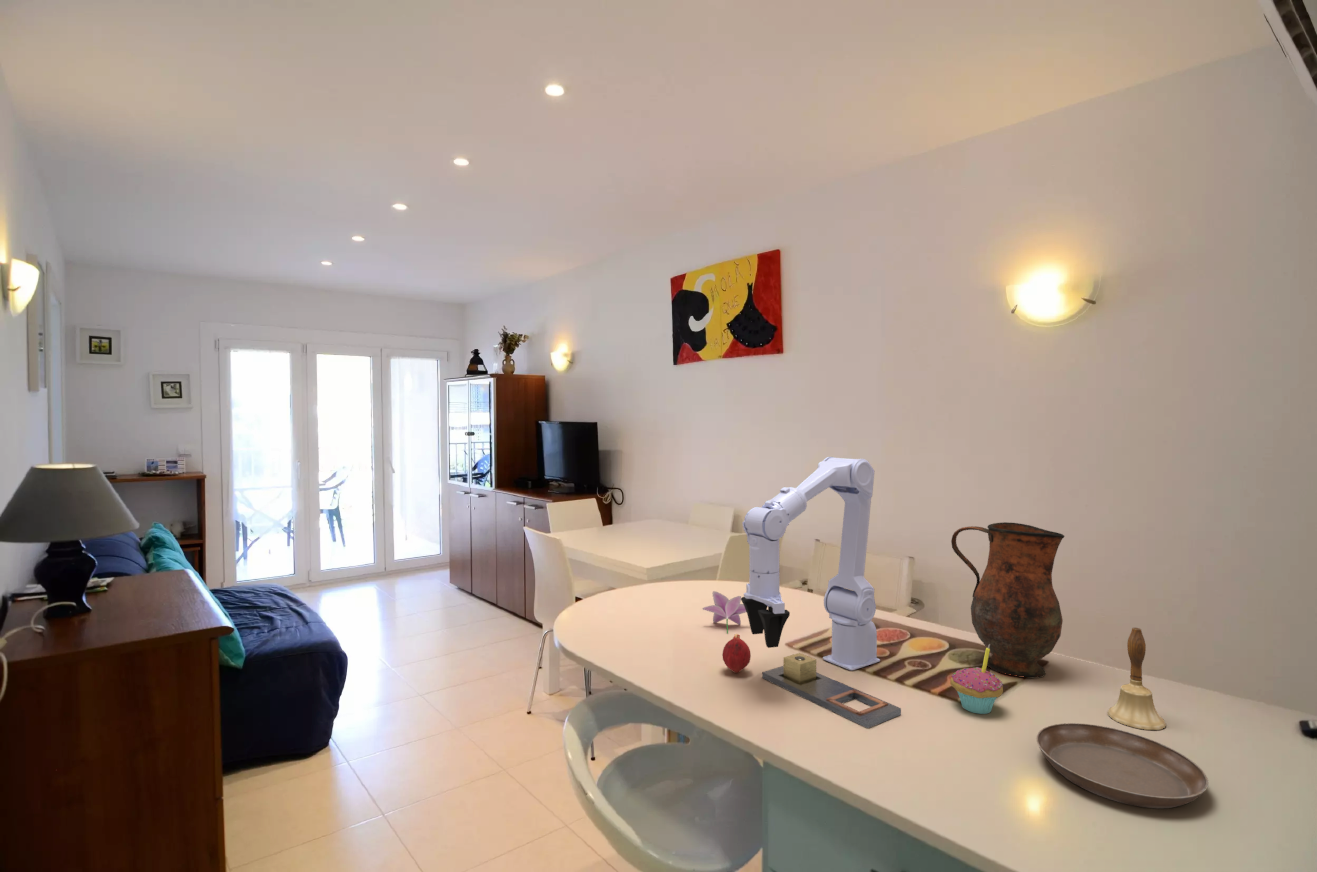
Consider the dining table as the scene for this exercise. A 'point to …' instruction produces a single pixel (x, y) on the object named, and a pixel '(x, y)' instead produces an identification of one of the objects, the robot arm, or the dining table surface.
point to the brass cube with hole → (799, 668)
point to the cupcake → (977, 687)
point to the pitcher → (1016, 597)
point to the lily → (726, 608)
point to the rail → (837, 698)
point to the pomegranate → (736, 654)
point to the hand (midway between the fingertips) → (764, 639)
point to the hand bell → (1136, 692)
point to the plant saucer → (1122, 765)
